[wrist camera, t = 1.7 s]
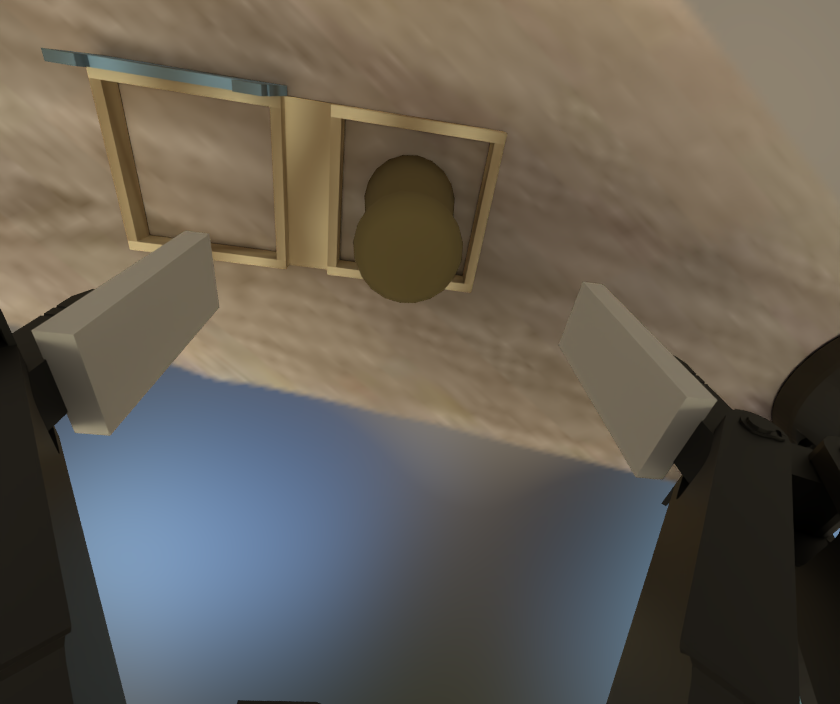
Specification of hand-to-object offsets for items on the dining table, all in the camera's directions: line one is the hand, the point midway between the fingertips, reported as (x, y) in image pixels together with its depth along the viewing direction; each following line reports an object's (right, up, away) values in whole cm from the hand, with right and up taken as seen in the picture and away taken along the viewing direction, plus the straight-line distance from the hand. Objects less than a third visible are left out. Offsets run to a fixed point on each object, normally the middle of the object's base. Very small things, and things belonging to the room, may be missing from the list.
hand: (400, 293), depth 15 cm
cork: (0, +8, +13) cm, 15 cm away
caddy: (-6, +9, +12) cm, 16 cm away
